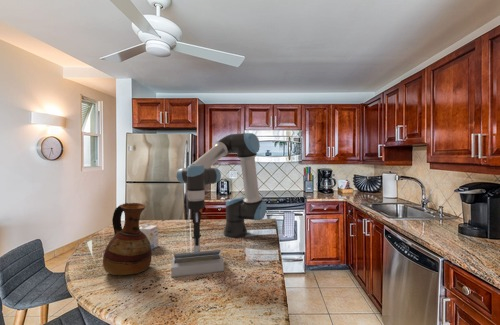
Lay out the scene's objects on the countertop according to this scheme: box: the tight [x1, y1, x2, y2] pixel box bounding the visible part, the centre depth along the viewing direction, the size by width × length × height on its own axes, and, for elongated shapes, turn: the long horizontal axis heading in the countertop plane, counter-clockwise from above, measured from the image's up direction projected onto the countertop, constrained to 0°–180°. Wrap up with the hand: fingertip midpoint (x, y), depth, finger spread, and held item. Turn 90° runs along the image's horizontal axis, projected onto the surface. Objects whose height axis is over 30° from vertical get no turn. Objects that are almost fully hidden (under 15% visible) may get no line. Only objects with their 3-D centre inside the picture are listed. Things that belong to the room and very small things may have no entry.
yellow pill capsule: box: [182, 259, 213, 263], centre depth 122 cm, size 15×3×3 cm
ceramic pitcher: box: [102, 202, 153, 276], centre depth 119 cm, size 20×20×30 cm
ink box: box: [139, 222, 159, 251], centre depth 151 cm, size 9×8×13 cm
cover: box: [173, 249, 222, 259], centre depth 121 cm, size 20×8×1 cm, turn 103°
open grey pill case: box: [170, 252, 225, 278], centre depth 121 cm, size 22×14×4 cm, turn 103°
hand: (197, 251), depth 121 cm, fingers closed
